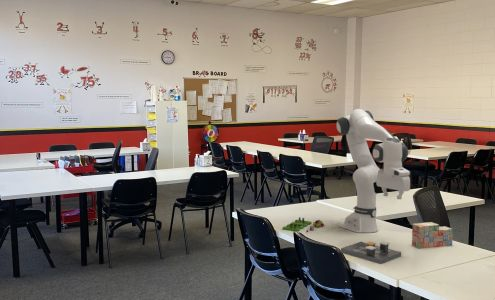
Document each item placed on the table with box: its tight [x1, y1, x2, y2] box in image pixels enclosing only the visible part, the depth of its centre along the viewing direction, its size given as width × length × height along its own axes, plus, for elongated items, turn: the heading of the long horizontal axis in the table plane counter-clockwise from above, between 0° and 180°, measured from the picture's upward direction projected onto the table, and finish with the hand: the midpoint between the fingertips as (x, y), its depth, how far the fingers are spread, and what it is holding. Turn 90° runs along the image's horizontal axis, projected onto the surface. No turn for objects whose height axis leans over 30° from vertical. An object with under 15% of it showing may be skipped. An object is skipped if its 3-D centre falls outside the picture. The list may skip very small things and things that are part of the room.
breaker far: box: [379, 240, 390, 250], centre depth 247 cm, size 4×4×3 cm
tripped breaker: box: [365, 241, 377, 247], centre depth 246 cm, size 4×4×3 cm
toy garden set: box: [281, 217, 325, 233], centre depth 298 cm, size 23×19×5 cm
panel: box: [340, 241, 402, 265], centre depth 246 cm, size 24×18×2 cm
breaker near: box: [366, 246, 376, 255], centre depth 239 cm, size 4×4×3 cm
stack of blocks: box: [411, 221, 454, 250], centre depth 261 cm, size 21×6×12 cm, turn 107°
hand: (392, 197), depth 244 cm, fingers open, 8 cm apart
